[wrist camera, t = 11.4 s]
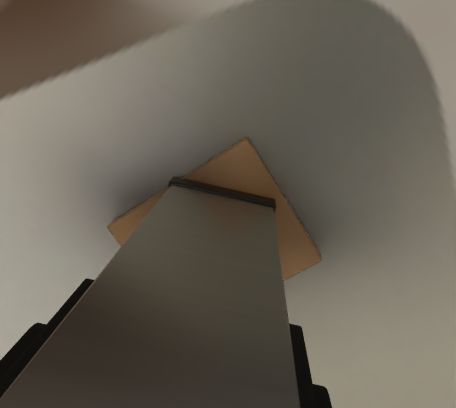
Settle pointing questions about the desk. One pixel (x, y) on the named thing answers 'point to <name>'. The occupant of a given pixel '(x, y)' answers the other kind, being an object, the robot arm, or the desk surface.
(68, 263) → the desk surface
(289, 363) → the brushed metal pillar
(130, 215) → the cork mat
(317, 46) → the desk surface
